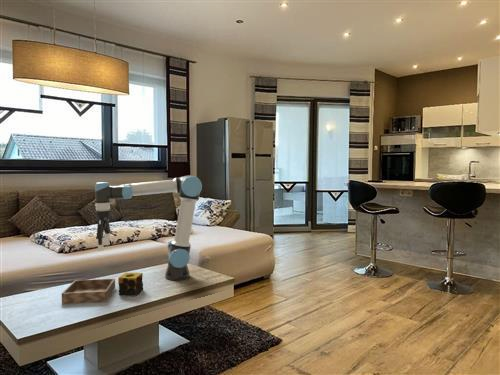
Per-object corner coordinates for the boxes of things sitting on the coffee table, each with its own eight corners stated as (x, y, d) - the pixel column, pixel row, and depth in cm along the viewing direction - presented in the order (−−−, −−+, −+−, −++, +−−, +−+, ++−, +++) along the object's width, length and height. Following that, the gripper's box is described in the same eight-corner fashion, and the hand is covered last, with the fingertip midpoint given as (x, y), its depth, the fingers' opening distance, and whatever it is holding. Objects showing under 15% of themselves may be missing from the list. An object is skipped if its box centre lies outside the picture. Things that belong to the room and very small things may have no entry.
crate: (115, 288, 214) (115, 278, 214) (106, 302, 193) (106, 291, 192) (75, 289, 211) (75, 280, 210) (61, 304, 189) (61, 293, 189)
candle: (143, 290, 211) (143, 272, 211) (136, 296, 201) (136, 278, 201) (126, 289, 212) (125, 272, 212) (118, 295, 202) (117, 277, 202)
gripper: (101, 207, 221) (103, 242, 223) (89, 213, 197) (90, 253, 198) (115, 207, 222) (116, 242, 224) (104, 213, 197) (105, 252, 199)
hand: (104, 247), depth 211 cm, fingers open, 13 cm apart
